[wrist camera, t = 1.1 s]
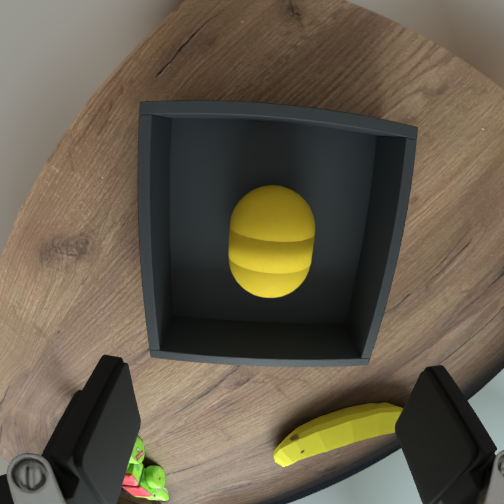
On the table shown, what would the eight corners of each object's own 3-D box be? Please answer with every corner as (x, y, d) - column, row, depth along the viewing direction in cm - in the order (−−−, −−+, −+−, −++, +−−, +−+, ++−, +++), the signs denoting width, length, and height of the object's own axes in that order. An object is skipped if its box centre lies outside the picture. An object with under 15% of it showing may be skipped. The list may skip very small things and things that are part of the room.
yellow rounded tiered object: (233, 177, 23) (229, 190, 17) (311, 183, 23) (329, 197, 17) (229, 274, 25) (224, 311, 20) (299, 278, 25) (311, 315, 20)
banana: (254, 469, 30) (318, 487, 36) (395, 409, 25) (427, 439, 31) (251, 437, 34) (314, 463, 40) (381, 374, 29) (417, 413, 35)
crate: (164, 109, 21) (139, 101, 16) (382, 127, 22) (418, 127, 16) (166, 317, 28) (150, 357, 22) (349, 326, 28) (367, 365, 23)
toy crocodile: (178, 486, 39) (173, 516, 33) (141, 484, 40) (134, 512, 34) (122, 411, 32) (108, 448, 27) (80, 409, 33) (64, 443, 27)
